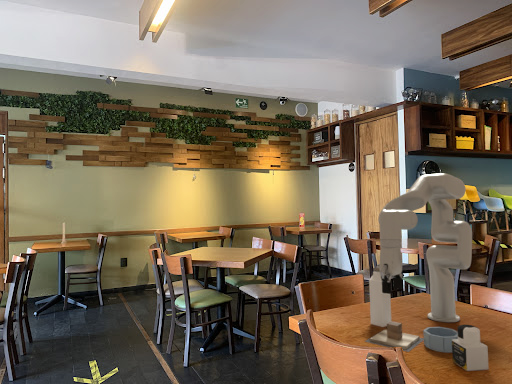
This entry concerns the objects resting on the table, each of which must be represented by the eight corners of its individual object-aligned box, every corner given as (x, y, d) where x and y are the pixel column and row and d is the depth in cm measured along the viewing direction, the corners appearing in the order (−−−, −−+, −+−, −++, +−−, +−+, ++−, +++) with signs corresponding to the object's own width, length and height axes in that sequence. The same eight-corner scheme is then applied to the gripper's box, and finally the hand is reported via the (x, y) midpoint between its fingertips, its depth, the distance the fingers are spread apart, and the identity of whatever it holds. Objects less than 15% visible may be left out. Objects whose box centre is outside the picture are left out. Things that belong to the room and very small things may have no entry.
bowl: (430, 340, 140) (430, 324, 140) (464, 347, 132) (463, 330, 133) (420, 348, 132) (419, 332, 132) (454, 356, 124) (454, 339, 124)
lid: (385, 331, 148) (384, 316, 149) (419, 339, 140) (418, 322, 140) (370, 341, 139) (369, 324, 139) (405, 349, 130) (405, 331, 130)
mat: (383, 331, 150) (383, 330, 150) (425, 340, 140) (425, 338, 140) (364, 343, 139) (364, 341, 139) (408, 353, 128) (408, 351, 128)
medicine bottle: (452, 361, 120) (450, 323, 121) (473, 360, 121) (471, 322, 122) (466, 371, 113) (464, 330, 114) (489, 370, 114) (487, 329, 114)
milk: (383, 328, 154) (380, 274, 155) (370, 325, 159) (368, 272, 160) (391, 325, 158) (389, 272, 158) (379, 322, 163) (377, 270, 163)
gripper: (390, 242, 149) (392, 286, 149) (370, 245, 137) (372, 293, 136) (409, 242, 144) (411, 288, 143) (391, 246, 132) (392, 296, 131)
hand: (392, 291), depth 140 cm, fingers open, 9 cm apart
